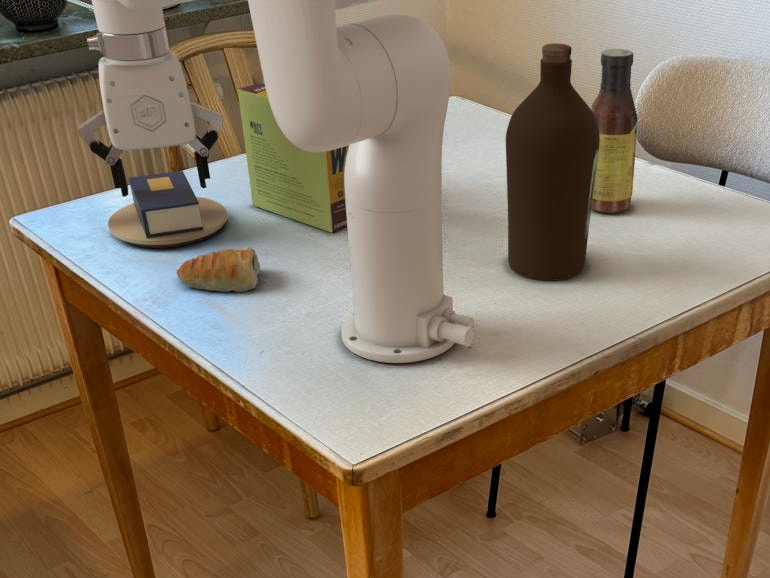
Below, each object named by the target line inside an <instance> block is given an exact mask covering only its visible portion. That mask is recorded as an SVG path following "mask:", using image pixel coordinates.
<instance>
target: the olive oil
mask: <svg viewBox="0 0 770 578" xmlns="http://www.w3.org/2000/svg"><path fill="white" fill-rule="evenodd" d="M572 48H573V47H572V46H571V45H569V44H565V43H556V42H555V43H554V42H553V43H547V44H544V45H543V46H542V47H541V54H542V58H541V59H540V69H539V71H540V72H539V73H540V74H539V75H540V80H539V82H538V84H537V85H536V87H535V88H534V89H533V90H532V91H531V92H530V93H529V94H528V95H527V96H526V97H525V98H524V99H523V100H522V101H521V103H520V104H519V105H517V107H516V108H515V109H514V111H513V112H512V114H511V116H510V119H509V121H508V124H507V128H506V132H505V163H506V164H505V165H506V167H505V168H506V194H507V195H506V196H507V197H506V198H507V199H506V201H507V242H508V243H507V254H508V255H507V261H508V266H509V268H510V269H511V270H512V271H513V272H514V273H515V274H518V275H519V276H521V277H525V278H527V279H532V280H538V281H560V280H565V279H570V278H572V277H575V276H577V275H579V274H580V273H582V272H583V270H584V268H585V265H586V260H587V250H588V239H589V234H590V233H589V231H590V224H591V223H590V222H591V215H592V214H591V213H592V209H591V207H592V199H593V191H594V183H595V175H596V168H597V160H598V153H599V145H600V143H599V142H600V135H599V129H598V124H597V120H596V117H595V115H594V113H593V112H592V110H591V107H590V106H589V104H587V102H586V101H585V100H584V98H583V97H582V96H581V95H580V94H579V93H578V92H577V90H576V89H575V88H574V86H573V85H572V83H571V82H572V81H571V80H572V79H571V78H572V67H573V66H572V65H573V60H572V59H571V57H572V56H571V55H572V50H573V49H572Z"/></svg>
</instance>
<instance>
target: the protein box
mask: <svg viewBox="0 0 770 578" xmlns="http://www.w3.org/2000/svg"><path fill="white" fill-rule="evenodd" d="M237 94H238V95H237V96H238V103H239V110H240V111H239V112H240V117H241V127H242V133H243V141H244V147H245V155H246V164H247V170H248V172H247V173H248V178H249V187H250V194H251V201H252V202H251V203H252V206H254V207H256V208H259V209H263V210H265V211H268V212H270V213H273V214H277V215H279V216H281V217H282V216H283V217H285V218H287V219H291V220H293V221H297V222H299V223H302V224H305V225H308V226H311V227H314V228H317V229H319V230H322V231H325V232H328V233H334V232H337V231H339V230H341V229H343V228H346V227H347V215H346V202H345V187H344V171H345V163H346V157H347V153H348V148H349V145H348V146H345V147H341V148H338V149H335V150H330V151H326V152H309V151H305V150H302V149H300V148H298V147H297V146H295V145H294V144H293V143H291V142H290V141H289V140H288V139H287V138H286V136H285V135H284V134H283V132H282V131H281V129H280V127H279V126H278V124H277V122H276V120H275V117H274V115H273V112H272V109H271V106H270V103H269V100H268V96H267V92H266V88H265V83H264V81H262V82H259V83H255V84H251V85H247V86H244V87H240V88H238V89H237Z"/></svg>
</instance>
